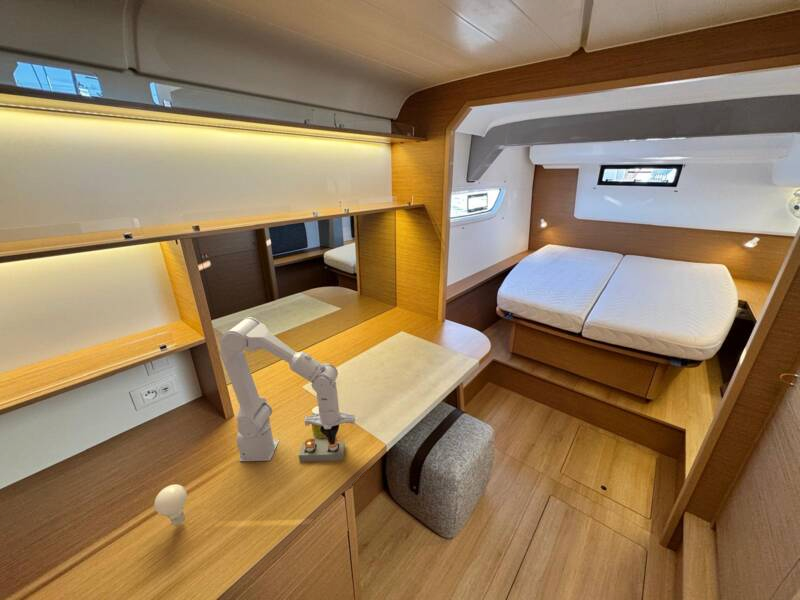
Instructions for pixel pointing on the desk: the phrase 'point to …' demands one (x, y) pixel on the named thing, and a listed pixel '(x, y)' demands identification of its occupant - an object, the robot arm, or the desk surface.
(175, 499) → the lightbulb
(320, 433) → the supplement bottle
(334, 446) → the plunger
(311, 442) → the plunger
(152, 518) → the desk surface
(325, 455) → the housing
